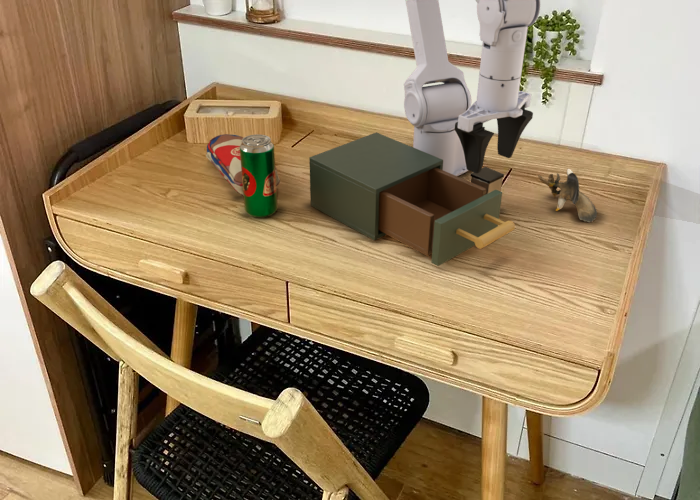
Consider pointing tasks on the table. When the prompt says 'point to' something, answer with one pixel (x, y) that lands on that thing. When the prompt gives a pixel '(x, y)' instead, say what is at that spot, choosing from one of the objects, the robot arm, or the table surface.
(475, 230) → the drawer
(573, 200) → the eagle figurine
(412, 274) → the table surface
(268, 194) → the soda can
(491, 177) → the metal-capped square post
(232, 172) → the pencil case
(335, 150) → the cabinet
